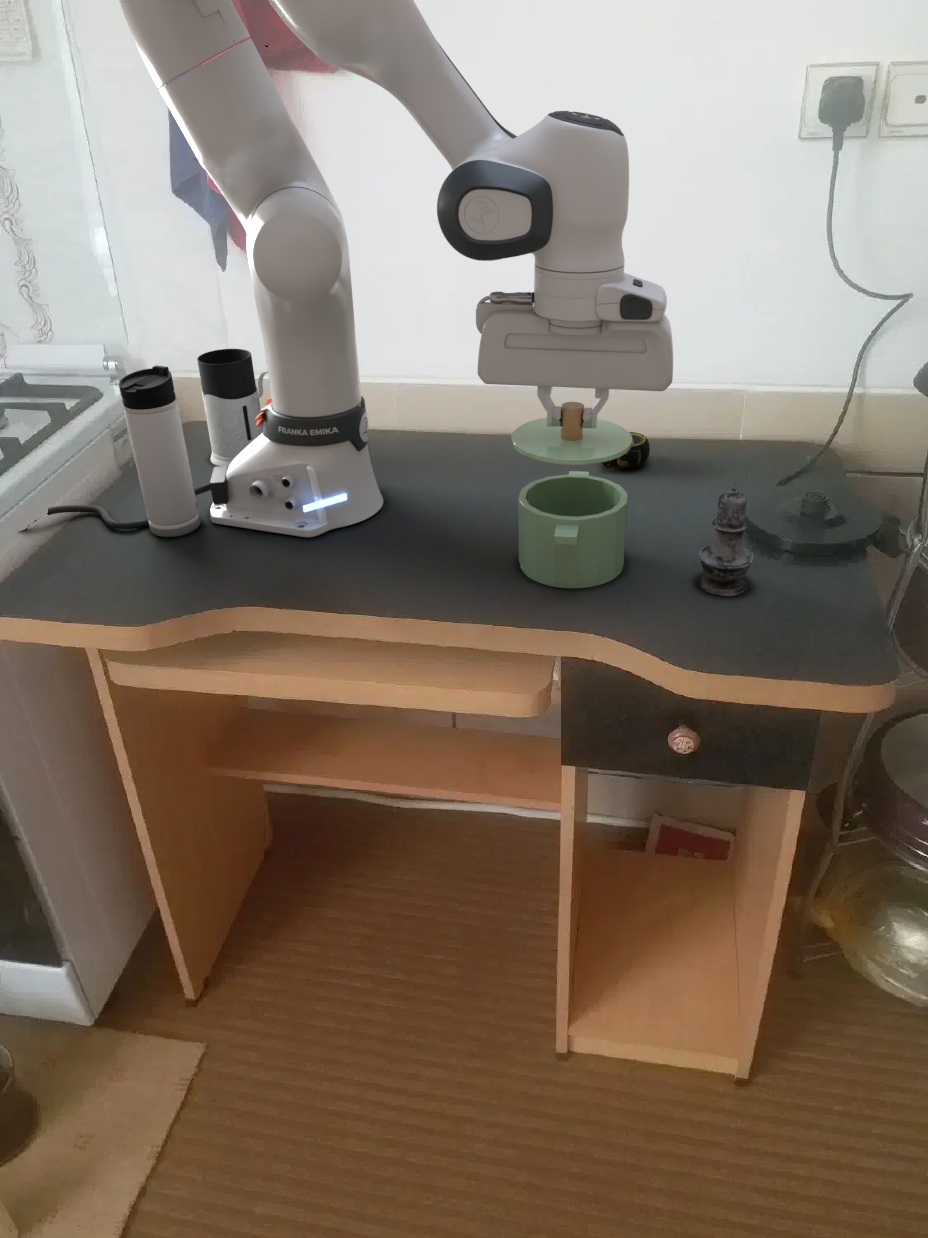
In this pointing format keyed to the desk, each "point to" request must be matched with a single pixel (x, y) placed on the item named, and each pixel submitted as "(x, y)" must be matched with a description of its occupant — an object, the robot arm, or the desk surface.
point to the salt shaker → (727, 548)
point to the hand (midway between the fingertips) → (572, 425)
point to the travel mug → (160, 451)
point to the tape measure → (632, 453)
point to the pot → (572, 530)
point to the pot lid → (571, 439)
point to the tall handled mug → (230, 401)
